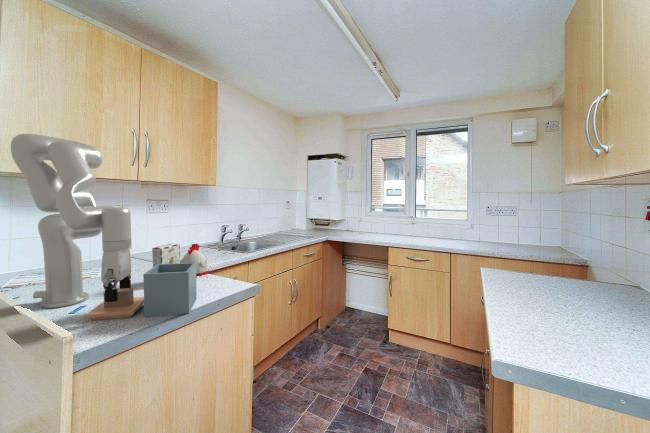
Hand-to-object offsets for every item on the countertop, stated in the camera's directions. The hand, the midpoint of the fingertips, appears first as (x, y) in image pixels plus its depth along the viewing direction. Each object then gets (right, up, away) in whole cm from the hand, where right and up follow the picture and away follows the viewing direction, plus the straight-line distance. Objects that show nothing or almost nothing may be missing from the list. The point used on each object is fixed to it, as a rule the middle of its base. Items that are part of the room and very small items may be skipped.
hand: (118, 295), depth 89 cm
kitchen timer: (+3, -2, +45) cm, 45 cm away
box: (+15, -5, +5) cm, 17 cm away
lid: (0, -6, 0) cm, 6 cm away
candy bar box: (-3, -3, +32) cm, 33 cm away
